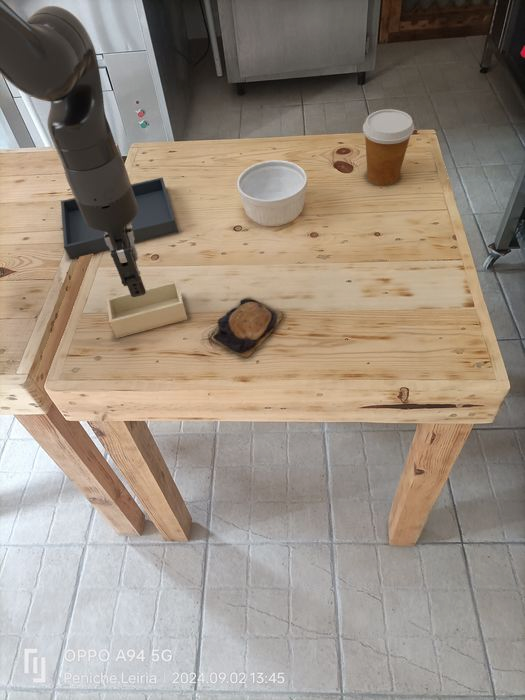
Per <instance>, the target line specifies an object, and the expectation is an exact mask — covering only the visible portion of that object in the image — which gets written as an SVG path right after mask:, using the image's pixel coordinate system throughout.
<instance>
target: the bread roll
mask: <svg viewBox="0 0 525 700" xmlns="http://www.w3.org/2000/svg"><path fill="white" fill-rule="evenodd" d="M282 318H283V313H282V312H281V311H279V310H277V309H275V308H273V307H271V306H269V305H266V304H264V303H263V302H260V301H258V300H256V299H253V298H251V297H246V298H244V299H241V300H240V302H239V305H237V306H236V307H234V308H232V309H230V310H229V311H227V312H226V313H225V315H224V316H222V317H220V318H219V319H218V320H217V325H218V328H217V329H216V330H215V331H214V332H213V334H212V336H210V339H211V342H213V343H214V344H216V345H219V346H220V347H221V348H223V349H227V350H229V351H230V352H231V353H234V354H236V355H239V356H241V357H242V358H244V359H245V358H246V359H247V358H249V357H250V356H251V355H252V354H253V353H254V352H255V351H256V350H257V349H258V347H260V346H262V344H263V342H264V341H265V340H266V339H267V338H268V337H270V335H271V333H272V332H273V330H275V329H276V327H277V326H278V324H279V323H280V321H281V320H282Z"/></svg>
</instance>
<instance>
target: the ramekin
mask: <svg viewBox="0 0 525 700" xmlns="http://www.w3.org/2000/svg"><path fill="white" fill-rule="evenodd" d="M236 187H237V193H238V195H239V197H240V200H241V202H242V206H243V208H244V213H245V214H246V216H247V217H248V218H249V219H250V220H251V221H253V222H254V223H255V224H258V225H261V226H264V227H278V226H279V227H280V226H283V225H286V224H289V223H292V221H294V220H296V218H298V216H300V215H301V213H302V211H303V210H304V206H305V201H306V192H307V191H306V190H307V187H308V177H307V173H306V171H305V170H304V169H303V168H302V167H301V166H299V165H298V164H296V163H295V162H291V161H287V160H279V159H272V160H265V161H261V162H258V163H255V164H253V165H250V166H249V167H247V168H245V170H243V171H242V172H241V173H240V174H239V177H238V179H237V182H236Z"/></svg>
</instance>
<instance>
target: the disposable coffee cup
mask: <svg viewBox="0 0 525 700" xmlns="http://www.w3.org/2000/svg"><path fill="white" fill-rule="evenodd" d="M362 131H363V133H364V138H365V139H364V141H365V157H366V174H367V179H368V181H369V182H370V183H372V184H374V185H376V186H390V185H393V184H395V183H396V182H397V181H398V180H399V177H400V175H401V170H402V166H403V163H404V160H405V157H406V152H407V148H408V145H409V141H410V137H411V136H412V134H413V133H414V131H415V125H414V122H413V118H412V116H411V115H410V114H408V113H407V112H405V111H402V110H399V109H391V108H388V109H387V108H386V109H380V110H376V111H374V112H371V113H370V114H369V115H368V116H367V117H366V119H365V122H364V123H363V125H362Z"/></svg>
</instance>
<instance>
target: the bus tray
mask: <svg viewBox="0 0 525 700" xmlns="http://www.w3.org/2000/svg"><path fill="white" fill-rule="evenodd" d="M131 186H132V189H133V192H134V195H135V198H136V201H137V204H138V213H137V215H136V217H135V218H134V219H133V220H132V221H131V224H132V229H133V234H134V244H137V243H140V242H146V241H149V240H152V239H153V240H154V239H157V238H162V237H165V236H169V235H173V234H177V233H179V229H178V226H177V225H178V224H177V221H176V219H175V214H174V211H173V208H172V204H171V202H170V198H169V195H168V194H169V193H168V191H167V187H166V183H165V181H164V178H163V176H162V177H157V178H152V179H149V180H144V181H141V182H136V183H133V184H132V183H131ZM60 209H61V223H62V224H61V225H62V237H63V248H64V251H65V252H66V254H67V256H68V258H69V260H72V259H76V258H80V257H81V258H82V257H84V256H88V255H92V254H97V253H100V252H104V251H107V250H108V251H110V248H109V247H108V246H107V244H106V241H105V238H104V234H106V233H105V232H103V231H98V230H94V229H92V228H90V227H89V226H88V225H87V224H86V223H85V221H84V218H83V216H82V214H81V211H80V209H79V207H78V205H77V202H76V200H75V198H74V197H73V198H68V199H64V200H60Z"/></svg>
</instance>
